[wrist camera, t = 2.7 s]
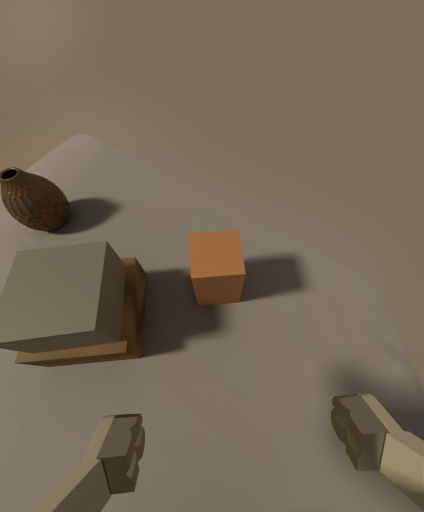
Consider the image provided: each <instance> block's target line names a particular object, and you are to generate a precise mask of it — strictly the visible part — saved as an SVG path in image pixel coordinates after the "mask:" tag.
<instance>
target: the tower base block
mask: <svg viewBox="0 0 424 512" xmlns="http://www.w3.org/2000/svg"><path fill="white" fill-rule="evenodd" d="M121 260H122V262H123V263H124V264H125V265H126V274H125V287H124V301H123V314H122V327H121V340H120V342H115V343H108V344H100V345H93V346H86V347H78V348H71V349H64V350H56V351H49V352H41V353H34V354H31V353H26V352H20V351H19V352H18V355H17V358H16V361H15V363H18V364H27V365H37V366H46V367H52V366H63V365H73V364H84V363H94V362H104V361H115V360H125V359H136V358H141V357H142V342H143V327H144V312H145V297H146V282H147V274H146V273H145V271H144V270H143V268H142V267H141V265H140V264H139V262H138V261H137V259H136V258H124V259H121Z"/></svg>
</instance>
